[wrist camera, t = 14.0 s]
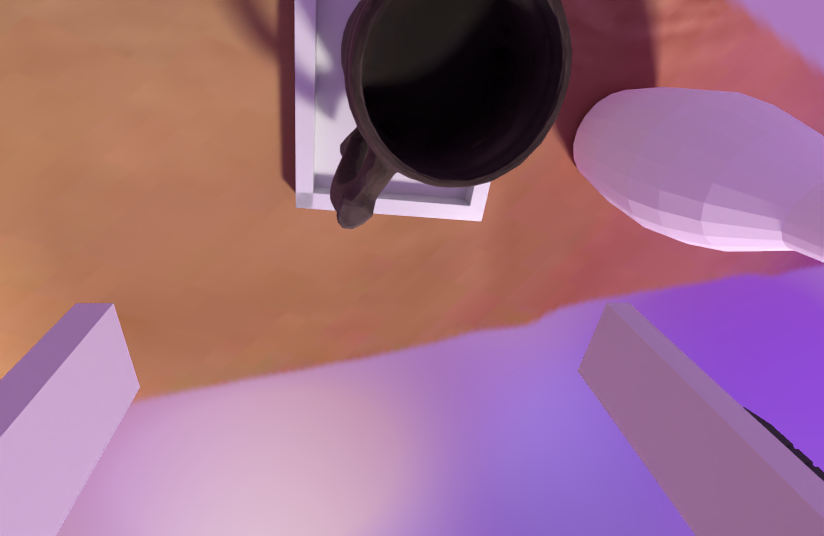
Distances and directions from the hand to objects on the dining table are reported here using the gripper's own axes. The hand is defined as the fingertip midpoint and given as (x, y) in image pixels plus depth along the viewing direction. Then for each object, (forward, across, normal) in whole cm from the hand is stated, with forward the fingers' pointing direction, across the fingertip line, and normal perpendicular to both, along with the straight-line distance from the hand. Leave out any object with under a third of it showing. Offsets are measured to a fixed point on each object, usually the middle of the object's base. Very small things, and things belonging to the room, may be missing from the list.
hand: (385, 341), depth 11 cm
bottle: (+29, +26, +1) cm, 39 cm away
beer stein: (+29, +3, +4) cm, 29 cm away
